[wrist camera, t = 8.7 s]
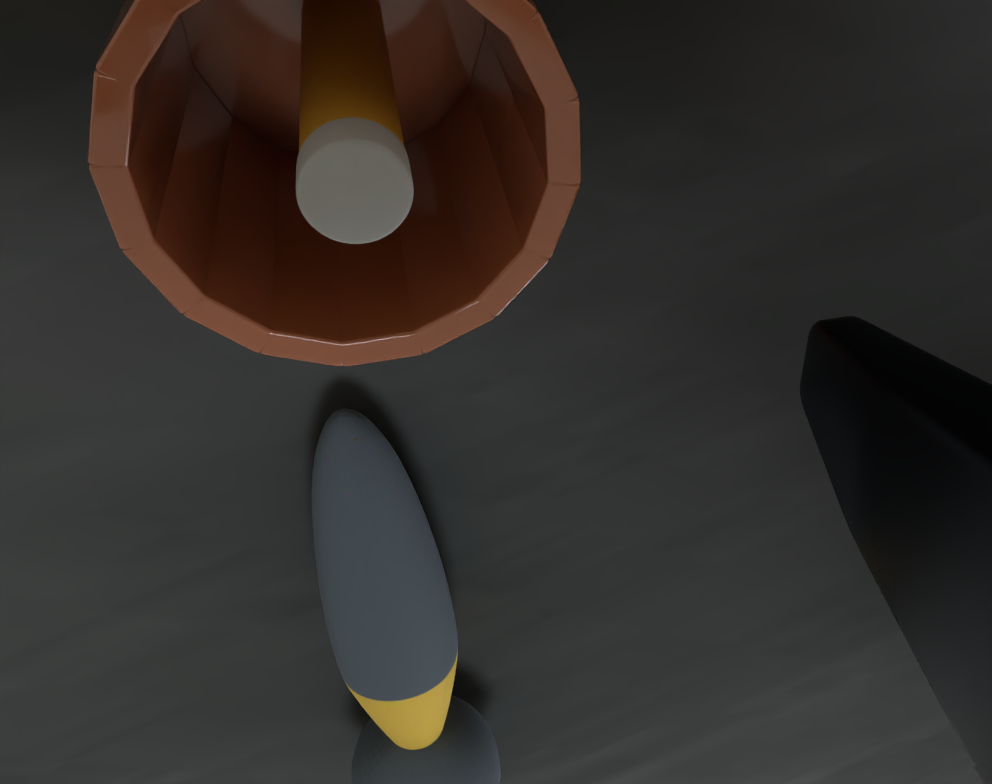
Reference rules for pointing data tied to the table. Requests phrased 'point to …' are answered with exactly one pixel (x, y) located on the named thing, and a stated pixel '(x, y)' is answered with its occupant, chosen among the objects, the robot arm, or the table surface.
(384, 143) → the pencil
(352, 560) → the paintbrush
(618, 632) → the table surface
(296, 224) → the pen cup
